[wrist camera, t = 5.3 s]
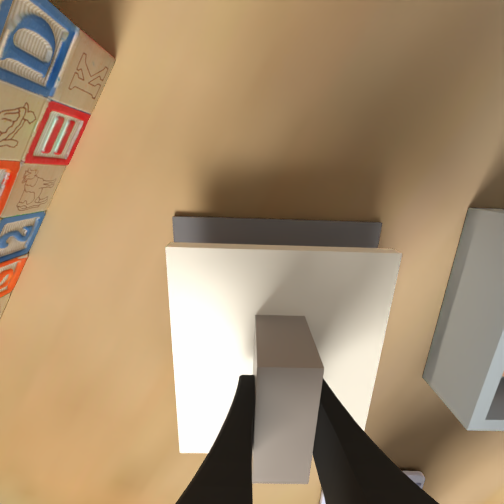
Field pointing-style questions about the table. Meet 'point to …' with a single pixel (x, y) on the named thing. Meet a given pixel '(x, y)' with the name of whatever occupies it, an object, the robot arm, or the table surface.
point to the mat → (276, 232)
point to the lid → (275, 341)
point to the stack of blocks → (39, 117)
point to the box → (473, 327)
